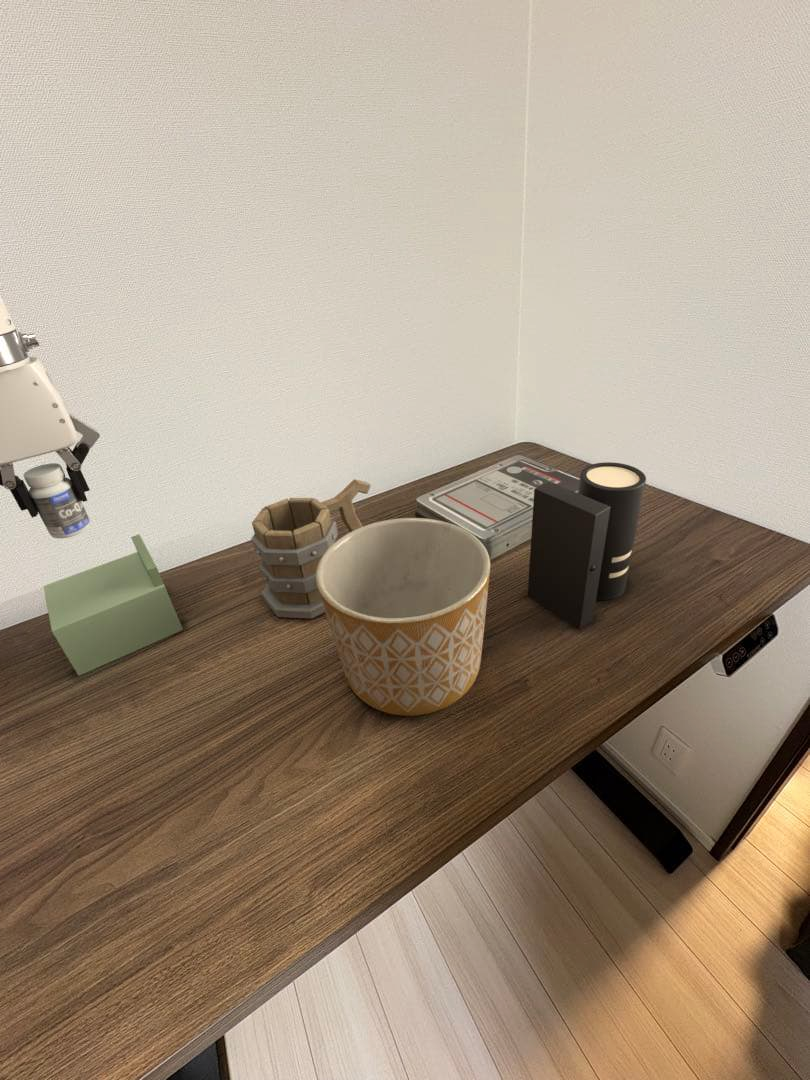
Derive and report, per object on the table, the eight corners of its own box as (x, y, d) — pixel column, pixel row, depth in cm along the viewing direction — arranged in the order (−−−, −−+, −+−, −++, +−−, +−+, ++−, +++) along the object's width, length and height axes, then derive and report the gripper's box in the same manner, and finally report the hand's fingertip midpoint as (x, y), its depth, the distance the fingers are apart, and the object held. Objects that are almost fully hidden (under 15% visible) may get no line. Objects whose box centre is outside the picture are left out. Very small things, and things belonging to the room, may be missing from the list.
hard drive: (415, 520, 98) (413, 499, 95) (518, 473, 110) (519, 453, 108) (484, 563, 85) (484, 540, 82) (592, 505, 97) (595, 483, 95)
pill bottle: (75, 540, 65) (44, 479, 61) (42, 539, 66) (9, 478, 61) (99, 520, 69) (72, 461, 64) (68, 519, 70) (39, 461, 65)
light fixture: (641, 586, 77) (665, 477, 67) (581, 630, 71) (597, 516, 61) (586, 558, 84) (600, 454, 74) (526, 595, 78) (532, 487, 68)
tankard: (289, 631, 75) (265, 544, 67) (254, 589, 84) (229, 507, 76) (402, 574, 84) (394, 490, 76) (360, 541, 93) (348, 464, 85)
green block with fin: (78, 676, 71) (40, 613, 65) (68, 628, 80) (33, 568, 73) (183, 629, 77) (157, 568, 71) (162, 590, 86) (138, 532, 80)
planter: (309, 665, 69) (283, 563, 60) (419, 597, 79) (411, 501, 70) (403, 762, 57) (388, 651, 47) (521, 667, 66) (527, 560, 57)
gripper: (68, 333, 62) (125, 473, 72) (-113, 365, 54) (-21, 517, 64) (76, 343, 57) (137, 493, 67) (-124, 380, 49) (-22, 543, 59)
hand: (58, 503), depth 65 cm, fingers closed on pill bottle, 4 cm apart
